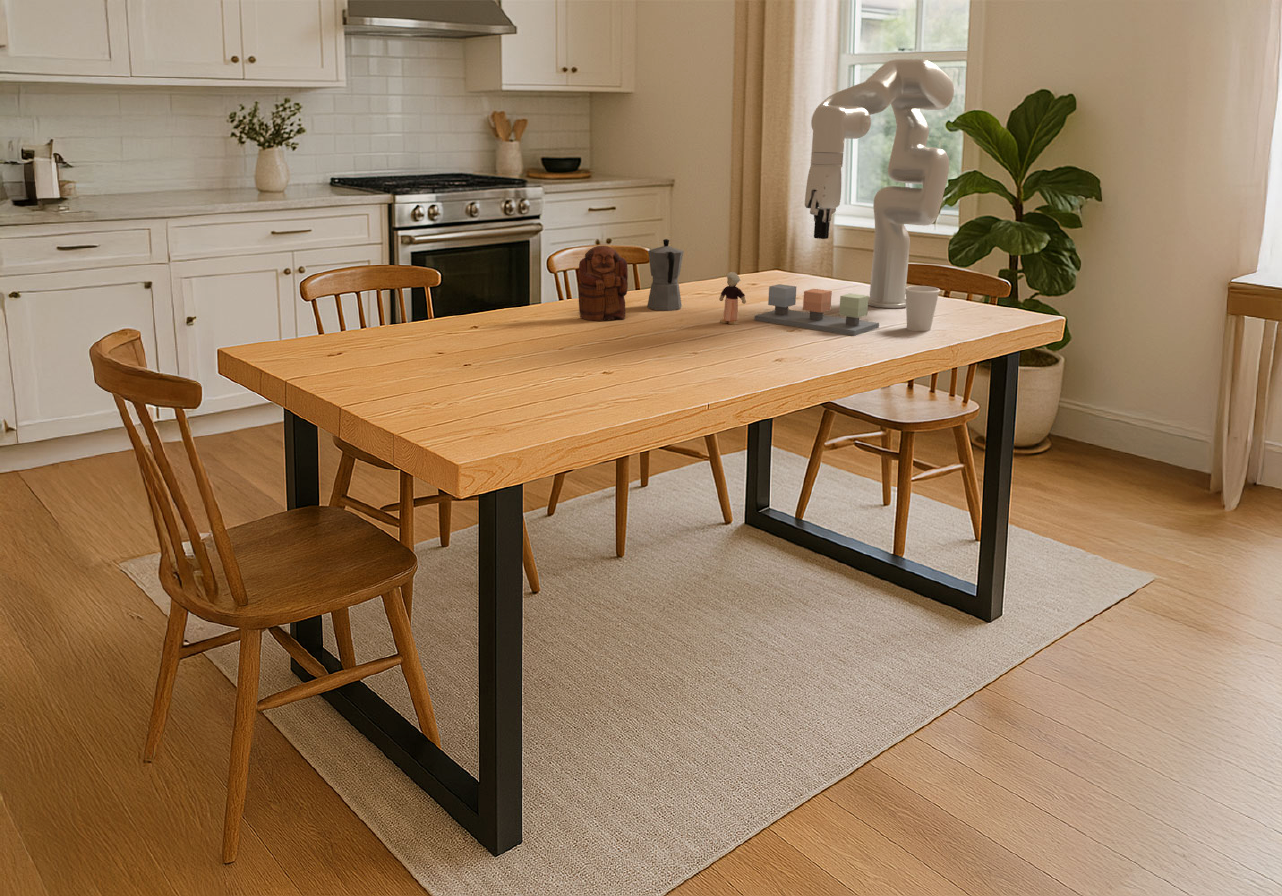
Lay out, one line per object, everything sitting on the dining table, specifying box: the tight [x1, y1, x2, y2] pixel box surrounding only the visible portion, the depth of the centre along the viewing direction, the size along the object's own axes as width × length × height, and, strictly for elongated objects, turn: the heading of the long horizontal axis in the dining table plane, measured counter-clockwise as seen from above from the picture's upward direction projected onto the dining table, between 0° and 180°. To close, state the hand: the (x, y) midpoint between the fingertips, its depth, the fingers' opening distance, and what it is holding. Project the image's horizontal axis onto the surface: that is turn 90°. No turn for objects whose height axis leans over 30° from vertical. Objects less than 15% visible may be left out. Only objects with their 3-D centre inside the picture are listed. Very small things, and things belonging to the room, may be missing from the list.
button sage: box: [838, 293, 870, 318], centre depth 263 cm, size 5×5×5 cm
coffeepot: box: [646, 238, 685, 312], centre depth 284 cm, size 15×9×18 cm, turn 9°
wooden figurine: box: [578, 245, 629, 322], centre depth 269 cm, size 12×6×18 cm, turn 107°
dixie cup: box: [905, 285, 941, 332], centre depth 266 cm, size 8×8×10 cm
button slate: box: [767, 283, 797, 308], centre depth 275 cm, size 5×5×5 cm
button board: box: [753, 306, 880, 336], centre depth 270 cm, size 13×28×3 cm, turn 52°
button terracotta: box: [802, 288, 833, 313], centre depth 269 cm, size 5×5×5 cm
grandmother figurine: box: [719, 271, 747, 325], centre depth 268 cm, size 8×4×13 cm, turn 62°
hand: (821, 238), depth 264 cm, fingers closed
